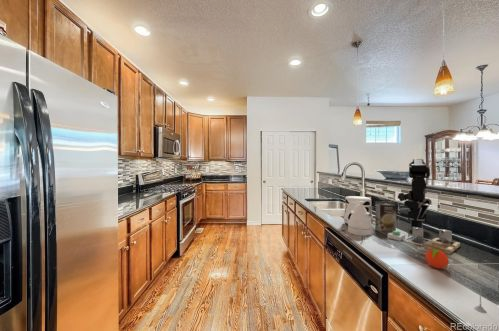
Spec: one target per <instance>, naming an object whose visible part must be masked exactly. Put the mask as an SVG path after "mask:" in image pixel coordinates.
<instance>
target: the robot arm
mask: <svg viewBox="0 0 499 331" xmlns="http://www.w3.org/2000/svg"><path fill="white" fill-rule="evenodd" d="M430 171H431V170H430V167H429V166H427V163H426V162H425V161H424V159H423V158H414V159H412V162H410V163H409V164H408V174H409V175H408V177H409V178H411V181H410V182H411V183H410V184H411V189H410V190H408V191H409V192H408V193H404V192H400V193H398V195H397V199H399V202H403V206H404V207H406V208H408V209H409V210H408V211H407V212H408V214H407V216H408V217H407V219H408V220H407V221H410V228H408V231H412V227H420V228H423V224H427V223H428V214H427V210H428V208H429V207H430V205H432V200H431V199H430V198H426V194H427V193H428V192H427V190H426V187H427V181H426V179H429V177H430V176H431V172H430ZM423 232H425V230H424V228H423Z"/></svg>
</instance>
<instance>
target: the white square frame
mask: <svg viewBox="0 0 499 331" xmlns="http://www.w3.org/2000/svg"><path fill="white" fill-rule="evenodd" d="M388 239H391V240H395V241H399V242H401V241H402V240H403V239H406V234H403V233H400V235H399V236H397V235H393V232H388V233H387V240H388Z"/></svg>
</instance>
